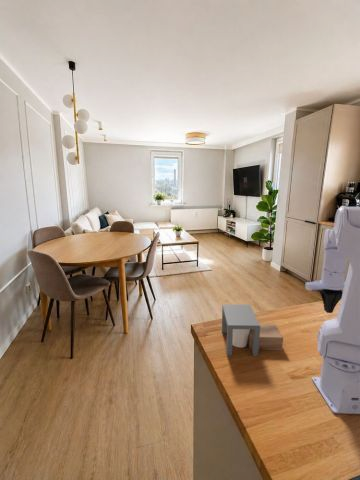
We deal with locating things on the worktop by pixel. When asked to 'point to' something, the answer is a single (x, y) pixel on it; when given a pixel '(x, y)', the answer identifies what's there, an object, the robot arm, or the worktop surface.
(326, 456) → the worktop surface
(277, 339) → the tan wooden chunk
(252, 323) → the grey tunnel arch
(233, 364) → the worktop surface
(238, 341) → the white cylinder
